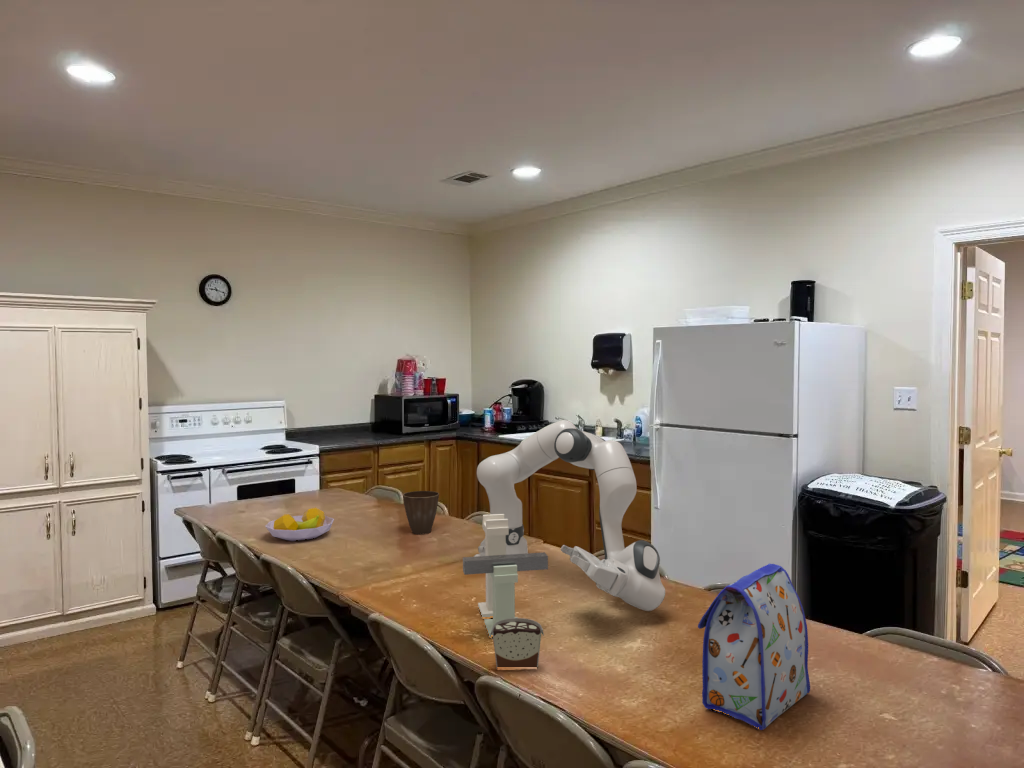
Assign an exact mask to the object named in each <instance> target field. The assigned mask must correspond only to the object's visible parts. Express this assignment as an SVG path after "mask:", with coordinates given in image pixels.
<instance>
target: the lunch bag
mask: <svg viewBox="0 0 1024 768" xmlns="http://www.w3.org/2000/svg"><path fill="white" fill-rule="evenodd" d="M800 598H801V597H800V596H799V595H798V592H797V590H796V589H795V586H794V585H793V582H792V580H791V578H790V575H789V573H788V571H786V569H785V568H784V567H783V566H781V565H780V564H775V563H768V564H765V565H763V566H761V567H760V568H758V569H755V570H754V571H752V572H751V573H749V574H746V575H743V576H741V577H740V578H739V579H738V580H736V581H735V582H733V583H730V584H728V585H726V586H725V587H724V588H723V589H721V591H720V592H719V593H718V594H717V596H715V598H714V600H713V601H712V602H711V604H710V605H709V607H708V608H707V610H706V611H705V612H704V614H703V615H702V617H701V618H700V620H699V622H698V624H697V628H698V629H700V630H701V629H704V632H703V643H702V659H701V660H702V674H701V675H702V676H701V677H702V681H701V682H702V690H701V691H702V693H701V694H702V695H701V698H702V701H701V702H702V705H703V707H704V708H705V709H707V710H709V709H715V710H719V711H722V712H724V713H726V714H729V715H730V716H732V717H731V718H733V717H734V719H736V720H741V721H742V722H744V723H747V724H749V725H750V726H752V725H753V726H755V727H757V728H758V727H759V729H760V730H759V731H763V730H765V729H766V728H767V727H769V726H770V724H771V723H773V721H775V720H776V719H778V717H780V716H781V715H782V714H784V713H785V712H786V711H787V710H788V709H790V708H791V707H792V706H793V705H794V704H796V703H798V702H799V701H800V700H801V699H802V698H803V697H805V696H806V695H808V694H809V693H810V691H811V682H810V675H809V667H808V666H809V665H808V663H809V659H808V658H809V634H808V633H809V632H808V623H807V619H806V615H805V610H804V607H803V605H802V602H801V599H800ZM807 693H808V694H807ZM730 716H729V717H730ZM753 726H752V727H753ZM755 727H754V728H755ZM757 728H756V729H757Z"/></svg>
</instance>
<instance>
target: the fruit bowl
mask: <svg viewBox="0 0 1024 768" xmlns="http://www.w3.org/2000/svg"><path fill="white" fill-rule="evenodd" d="M325 514H326V513H325V512H324V511H323V510H321V509H320V508H318V507H316V506H315V507H311V508H308V509H307V510H306V511H304V513H303V514H302V515H294V516H292V515H291V514H288V513H284V514H282V515H281V516H279V517H278V518H276V519H273V520H270V521H268V523H266V524H265V528H266V529H267V531H268V532H269V533H270V535H271V536H272V537H274V538H278V539H282V540H286V541H289V542H296V540H298V541H306V540H305V539H307V540H314V539H315V538H318V537H320V536H321V535H323V534H325V533H327V532H328V531H330V530H331V528H332V525H333V523H334V521H335V518H333V517H330V516H326V515H325ZM313 538H314V539H313Z"/></svg>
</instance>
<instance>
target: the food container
mask: <svg viewBox="0 0 1024 768" xmlns="http://www.w3.org/2000/svg"><path fill="white" fill-rule="evenodd" d="M492 633H493V638H492V639H493V649H494V657H495V666H496V668H497V667H538V668H539V660H540V650H541V639H542V636H545V634H544V629H543V627H542V624H541V623H539V621H538V622H537V621H536V620H533V619H530V618H524V617H518V618H510V619H504V620H501V621H498V622H496V623H495V624H494V625H493V627H492V629H491V634H492ZM491 634H490V637H491Z"/></svg>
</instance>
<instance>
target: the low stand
mask: <svg viewBox="0 0 1024 768" xmlns="http://www.w3.org/2000/svg"><path fill="white" fill-rule="evenodd" d="M490 575H491V577H492V579H493V619H484V621H483V622H484V623H485V625H486V628H487V630H488V633H489V636H490V634H491V629H492V627H493V625H494V624H495V623H496V622H498V621H501V620H504V619H510V618H519V617H518V616H516V608H515V607H516V604H515V603H516V602H515V601H516V598H515V594H516V593H515V592H516V589H515V588H516V587H515V586H516V585H515V583H518V582H519V573H518V571H517V565H503V566H493V573H490ZM484 623H483V624H484ZM485 625H484V626H485ZM486 628H485V629H486ZM488 633H487V634H488ZM491 635H493V633H492V634H491ZM489 636H488V637H489Z"/></svg>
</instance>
